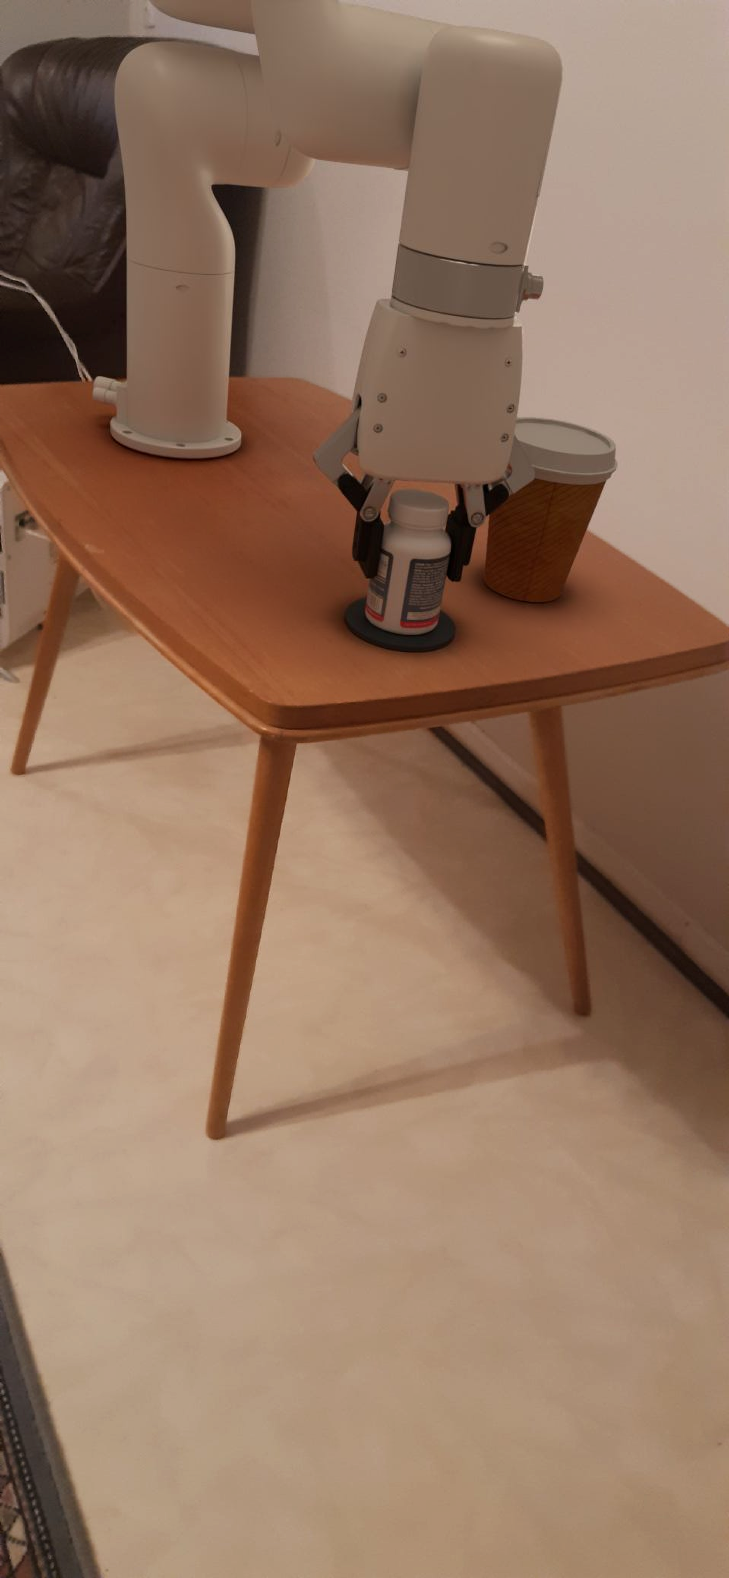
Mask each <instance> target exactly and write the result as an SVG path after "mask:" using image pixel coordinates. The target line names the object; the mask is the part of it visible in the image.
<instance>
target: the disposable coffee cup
mask: <svg viewBox="0 0 729 1578" xmlns="http://www.w3.org/2000/svg"><path fill="white" fill-rule="evenodd" d="M515 436H516V438H517V440H518V442H519V443H520V445H521V447H522V449H523V451H524V452H525V454H526V456H527V458H528V460H529V462H530V463H531V465H532V467H533V469H534V471H535V478H534V480H533V481H531V482H530V483H529V484H527V485H526V486H524V487H523V488H521V489H520V490H519V491H517V492H516V493H514V494H511V495H510V496H509V497H508V499H507V500H506V501H505V502H504V503H503V504H502V505H500V506H499V507H498V508H497V509H495V510H494V511H493V512H492V513H490V514H489V515H488V524H487V525H488V526H487V527H488V528H487V538H486V548H485V549H486V552H485V562H484V574H483V575H484V576H483V582H484V583H485V585H486V586H487V587H488V588H490V589H491V590H493V591H494V592H496V593H498V594H499V595H502V596H504V597H507V598H510V599H514V600H516V601H524V602H528V603H529V602H530V603H545V602H552V601H555V600H556V599H558V598H559V597H560V596H561V595H562V592H563V589H564V587H565V585H566V581H567V579H568V578H569V574H570V572H571V570H572V567H573V565H574V562H575V559H576V557H577V555H578V552H579V550H580V547H581V545H582V542H583V540H584V538H585V535H586V533H587V531H588V528H589V525H590V523H591V520H592V517H593V515H594V514H595V510H596V508H597V505H598V503H599V500H600V498H601V496H602V493H603V490H604V488H605V485H606V483H607V481H608V480H609V479H611V477H612V475H613V473H614V472H615V471H617V468H618V465H619V463H618V461H617V459H616V452H617V451H616V450H617V449H616V448H617V446H616V443H615V442H614V440H613V439H611V438H610V437H609V436H607V435H605V434H603V433H602V432H600V431H598V430H595V429H592V428H589V427H586V426H583V425H581V424H578V423H572V422H569V421H565V420H560V419H554V418H545V417H536V416H519V417H518V416H517V421H516V427H515Z"/></svg>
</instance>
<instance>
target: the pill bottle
mask: <svg viewBox="0 0 729 1578" xmlns="http://www.w3.org/2000/svg"><path fill="white" fill-rule="evenodd" d="M449 509H450V503H449V500H447V498H445V497H443V496H441V495H440V494H438V493H435V492H432V491H428V490H423V489H418V488H417V489H416V488H403V489H397V490H394V491H393V492H391V494H390V497H389V501H388V507H387V516H388V518H389V520H388V521H385V522H383V523H384V534H383V540H382V547H381V553H380V560H379V567H378V573H377V577H374V579H369V580H368V587H367V594H366V598H367V601H366V608H365V614H366V617H367V619H368V620H369V621H370V622H371V623H372V624H373V625H375V626H376V627H378V628H380V629H383V630H385V631H388V632H392V633H397V634H403V635H418V634H424V633H427V632H429V631H431V630H432V629H434V628H435V627H436V625H437V623H438V618H439V614H440V610H441V606H442V602H443V596H444V592H445V591H444V590H445V585H446V581H447V580H446V579H447V569H448V564H449V559H450V553H451V546H452V543H451V539H450V537H449V535H448V534H447V532H446V531H445V529H444V528H445V527H446V522H447V517H448V514H449Z"/></svg>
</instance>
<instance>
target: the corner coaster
mask: <svg viewBox="0 0 729 1578" xmlns="http://www.w3.org/2000/svg"><path fill="white" fill-rule="evenodd" d="M366 601H367V597H362V598H359V599H357V600H355V601H353V602H351V603H350V604H349V605H347V607H346V609H345V612H344V623H345V625H346V627H347V628H348V630H349V631H350V632H351V633H353V634H354V635H355V636H357V638H360V639H361V640H363V641H365V642H367V643H370V644H372V645H374V646H377V647H381V648H384V649H388V650H393V651H400V652H408V653H409V652H411V653H415V652H416V653H420V652H422V653H423V652H431V651H436V650H439V649H442V648H444V647H446V646H448V645H449V644H450V643H452V641H453V640H454V638H455V636H456V632H457V631H456V629H457V628H456V623H455V622H454V620H453V618H451V617H450V615H448V614H447V613H446V612H445V611H443V610H442V609H440V614H439V618H438V623H437V625H436V627H435V628H434V629H432V630H431V631H429V632H427V633H424V634H418V635H403V634H397V633H392V632H388V631H385V630H383V629H380V628H378V627H376V626H375V625H373V624H372V623H371V622H370V621H369V620H368V619H367V617H366V614H365V608H366Z"/></svg>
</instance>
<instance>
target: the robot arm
mask: <svg viewBox="0 0 729 1578" xmlns="http://www.w3.org/2000/svg"><path fill="white" fill-rule="evenodd" d="M148 1H149V3H150V4H151V5H152V6H153V7H154V8H155V9H156V10H158V11H159V12H160V13H162V14H164V15H165V16H168V17H170V18H173V19H176V20H178V21H182V22H187V23H189V24H190V23H191V24H194V25H200V26H206V27H209V28H210V27H211V28H216V29H221V30H226V31H232V32H238V33H239V32H240V33H245V34H250V35H254V36H255V42H256V48H257V52H258V55H256V54H250V53H246V52H245V53H244V52H238V51H231V50H228V49H225V48H220V47H214V46H207V45H200V44H194V43H189V42H182V41H181V42H180V41H168V40H167V41H166V40H163V41H151V42H148V43H144V44H141V45H138V46H137V47H135V48H133V49H132V50H130V51H129V52H128V53H127V54H126V55H125V57H124V58H123V59H122V61H121V62H120V63H119V64H120V65H119V67H118V69H117V72H116V75H115V81H114V92H113V93H114V113H115V121H116V126H117V133H118V140H119V147H120V154H121V164H122V170H123V171H122V172H123V182H124V195H125V211H126V212H125V217H126V219H125V221H126V222H125V223H126V380H125V381H123V382H121V381H117V380H116V379H114V378H109V377H106V376H101V375H99V376H96V377H95V378H94V381H93V386H92V389H93V390H92V396H91V397H92V400H93V401H94V402H97V403H101V404H105V405H112V406H113V408H115V409H116V414H115V415H114V416H113V417H112V418H111V420H110V421H109V422H110V425H109V426H110V427H109V428H110V432H109V433H110V435H111V437H113V439H114V440H115V441H116V442H118V443H119V444H121V445H122V446H125V447H127V448H130V449H132V450H135V451H138V452H141V453H145V454H148V455H152V456H153V455H154V456H157V457H159V456H160V457H165V458H174V459H195V460H196V459H198V460H199V459H211V458H217V457H218V458H219V457H223V456H226V455H230V454H232V453H234V452H235V451H237V450H238V449H239V448H241V445H242V431H241V430H240V428H239V427H238V426H237V425H235V423H233V422H231V421H229V420H228V419H227V418H228V417H227V415H228V399H229V398H228V397H229V382H230V381H229V380H230V365H231V364H230V363H231V362H230V361H231V343H232V325H233V308H234V306H233V305H234V292H235V291H234V290H235V289H234V287H235V271H236V269H235V268H236V245H235V239H234V234H233V230H232V228H231V225H230V224H229V221H228V219H227V218H226V217H227V216H225V213H224V212H223V210H222V208H221V207H220V204H219V202H218V201H217V199H216V197H215V195H214V193H213V190H212V186H214V185H233V186H243V187H255V188H256V187H257V188H268V189H269V188H270V189H288V188H292V187H293V188H294V187H295V186H298V185H299V184H301V183H302V182H304V181H305V179H307V177H308V176H309V175H310V173H311V171H312V170H313V167H314V165H315V163H316V160H317V161H325V162H332V163H341V164H348V165H349V164H350V165H356V166H357V165H359V166H367V167H377V168H386V169H393V170H395V171H396V170H397V171H405V172H407V178H406V184H405V185H406V186H405V193H404V198H403V199H404V200H403V207H402V213H401V214H402V215H401V222H400V229H399V235H398V242H399V243H398V244H397V251H396V252H397V253H396V258H395V267H394V272H393V273H394V274H393V282H392V287H391V296H390V298H380V299H377V300H376V302H375V305H374V308H373V311H372V314H371V317H370V321H369V325H368V328H367V331H366V335H365V338H364V342H363V347H362V351H361V355H360V360H359V364H358V369H357V373H356V379H355V383H354V388H353V393H352V394H353V395H352V399H351V404H350V409H349V415H348V417H347V418H346V419H345V420H344V421H343V422H342V423H341V424H340V425H339V426H338V427H337V428H336V429H335V430H334V431H333V432H332V433H331V434H330V435H329V436H328V437H327V438H325V440H324V441H323V442H322V443H321V444H319V446H318V447H317V448H315V450H314V451H313V453H312V460H313V462H314V464H315V466H316V468H317V469H318V471H320V472H321V473H322V474H323V475H324V476H325V477H326V478H327V479H328V481H330V482H331V483H332V484H334V486H335V487H336V489H338V490H339V491H340V493H341V494H342V495H343V497H344V498H345V499H346V500H347V501H348V503H349V504H350V505H351V506H352V507H353V508H354V510H355V511H356V516H355V522H354V523H355V524H354V532H353V537H352V544H351V545H352V546H351V557H352V559H353V561H354V562H357V563H358V565H359V567H360V570H361V571H362V574H363V577H364V578H365V579H367V580H368V579H374V577H377V573H378V567H379V560H380V553H381V547H382V540H383V534H384V523H385V522H383V521H384V520H383V519H382V518H381V515H382V508H383V506H384V504H385V502H386V500H387V498H388V496H389V495H390V492H391V490H392V488H393V485H394V483H395V481H404V482H418V483H419V482H420V483H433V484H434V483H436V484H452V485H453V484H454V491H455V499H456V505H455V507H454V510H452V509H451V510H450V512H449V513H448V515H447V521H446V525H445V527H444V528H445V529H444V530H445V531H446V532H447V534H448V535H449V537H450V539H451V543H452V546H451V553H450V559H449V564H448V569H447V575H446V578H448V580H450V582H451V583H461V581H462V575H463V571H464V567H467V566H469V565H470V562H471V558H472V553H473V547H474V543H475V538H476V533H477V528H479V527H482V526H483V525H484V524H485V522H486V519H487V517H489V514H490V513H492V512H493V511H494V510H495V509H497V508H498V507H499V506H500V505H502V504H503V503H504V502H505V501H506V500H507V499H508V497H509V496H510V495H511V494H514V493H516V492H517V491H519V490H520V489H521V488H523V487H524V486H526V485H527V484H529V483H530V482H531V481H533V480H534V478H535V471H534V469H533V467H532V465H531V463H530V462H529V460H528V458H527V456H526V454H525V452H524V451H523V449H522V447H521V445H520V443H519V442H518V440H517V438H516V436H515V427H516V421H517V418H518V413H519V407H520V406H519V405H520V398H521V387H522V375H523V359H524V322H522V321H521V320H520V318H519V317H517V316H516V315H517V313H520V311H521V305H522V304H523V302H527V301H528V300H536V301H538V300H540V298H541V296H542V293H543V290H544V277H543V276H542V275H538V274H533V273H532V272H531V271H529V265H528V264H527V260H528V254H529V249H530V245H531V239H532V234H533V230H534V224H535V220H536V215H537V210H538V205H539V200H540V195H541V190H542V185H543V181H544V176H545V169H546V165H547V160H548V155H549V152H550V151H549V150H550V145H551V140H552V137H553V136H552V135H553V130H554V125H555V120H556V116H557V112H558V111H557V110H558V107H559V101H560V97H561V91H562V86H563V77H564V75H563V74H564V73H563V72H564V68H563V60H562V58H561V55H560V52H559V51H558V50H557V48H556V47H555V46H554V45H552V44H551V43H549V41H546V40H544V39H541V38H538V37H535V36H531V35H526V34H521V33H515V32H510V31H505V30H504V31H503V30H498V29H494V28H486V27H479V26H471V25H470V26H469V25H455V24H450V23H447V22H446V23H445V22H440V21H436V20H431V19H425V18H421V17H418V16H414V15H409V14H404V13H400V12H393V11H389V10H385V9H380V8H376V7H370V6H366V5H360V4H354V3H349V2H342V1H340V0H148ZM350 452H351V454H353V455H355V456H357V457H358V459H357V460H358V461H357V462H358V466H359V468H360V470H361V471H362V472H363V473H362V475H361V477H360V479H357V477H356V476H355V475H354V473H353V472H352V471H351V469H348V467H347V466H346V465H345V464H344V463H343V460H344V458H345V457H346V456H347V455H348V454H349V453H350Z"/></svg>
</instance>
